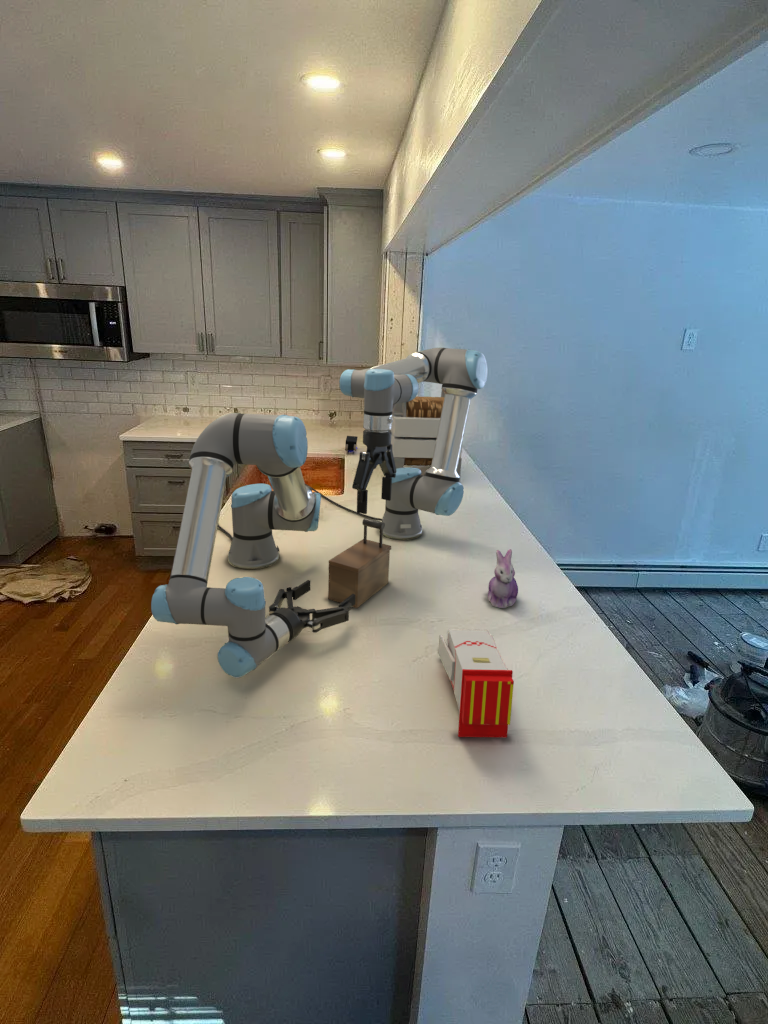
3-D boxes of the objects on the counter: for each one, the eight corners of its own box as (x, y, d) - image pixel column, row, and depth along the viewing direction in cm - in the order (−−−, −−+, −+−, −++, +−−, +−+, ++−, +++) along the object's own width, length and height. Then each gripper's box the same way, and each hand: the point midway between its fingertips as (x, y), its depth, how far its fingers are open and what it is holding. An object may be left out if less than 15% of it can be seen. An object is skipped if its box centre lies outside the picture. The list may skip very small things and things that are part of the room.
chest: (360, 575, 168) (362, 543, 164) (388, 583, 164) (389, 550, 160) (328, 599, 153) (328, 564, 150) (357, 608, 149) (358, 573, 146)
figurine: (500, 612, 150) (506, 561, 145) (477, 595, 159) (482, 546, 153) (527, 605, 154) (535, 555, 149) (504, 589, 163) (510, 541, 158)
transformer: (382, 463, 289) (386, 382, 275) (445, 464, 293) (451, 384, 279) (390, 482, 257) (394, 392, 243) (460, 483, 261) (468, 394, 247)
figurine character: (357, 457, 303) (357, 447, 317) (357, 444, 300) (358, 434, 313) (344, 457, 303) (345, 447, 317) (344, 443, 300) (345, 434, 313)
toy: (488, 613, 130) (523, 677, 101) (484, 667, 133) (517, 744, 104) (435, 612, 130) (455, 676, 101) (432, 666, 133) (451, 743, 103)
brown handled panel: (363, 542, 165) (364, 514, 162) (391, 549, 161) (392, 520, 158) (328, 564, 150) (328, 534, 147) (358, 572, 146) (359, 541, 143)
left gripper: (236, 627, 133) (291, 592, 151) (324, 661, 122) (373, 618, 140) (234, 599, 130) (291, 566, 148) (324, 631, 119) (374, 591, 137)
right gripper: (365, 440, 137) (363, 521, 144) (410, 424, 158) (406, 496, 165) (339, 435, 140) (338, 516, 148) (387, 421, 161) (384, 492, 168)
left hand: (331, 591), depth 144 cm, fingers open, 13 cm apart
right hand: (374, 506), depth 156 cm, fingers open, 13 cm apart
